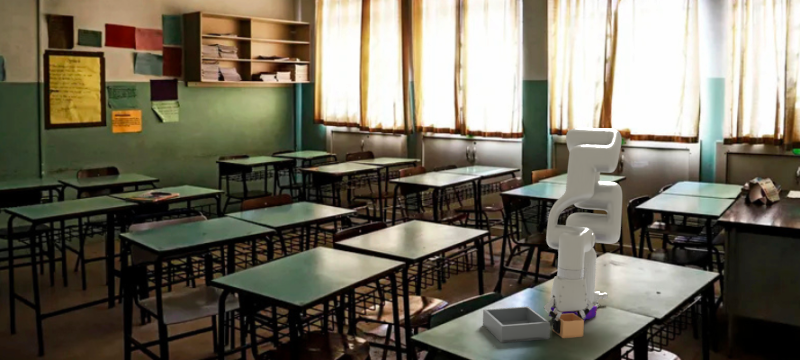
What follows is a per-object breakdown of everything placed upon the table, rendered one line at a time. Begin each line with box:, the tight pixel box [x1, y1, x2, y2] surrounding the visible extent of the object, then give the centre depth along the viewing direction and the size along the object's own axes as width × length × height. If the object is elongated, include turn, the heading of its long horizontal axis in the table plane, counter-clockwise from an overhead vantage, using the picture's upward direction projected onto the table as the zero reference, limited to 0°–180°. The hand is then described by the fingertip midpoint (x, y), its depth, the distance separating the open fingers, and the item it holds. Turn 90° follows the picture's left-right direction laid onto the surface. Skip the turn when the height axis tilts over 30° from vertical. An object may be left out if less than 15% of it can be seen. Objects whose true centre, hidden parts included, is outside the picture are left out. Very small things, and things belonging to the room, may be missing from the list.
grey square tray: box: [482, 305, 551, 344], centre depth 203 cm, size 15×15×5 cm
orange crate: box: [552, 313, 585, 339], centre depth 203 cm, size 7×7×5 cm
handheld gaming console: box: [548, 306, 598, 322], centre depth 217 cm, size 9×5×15 cm
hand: (567, 330), depth 203 cm, fingers closed on orange crate, 6 cm apart
